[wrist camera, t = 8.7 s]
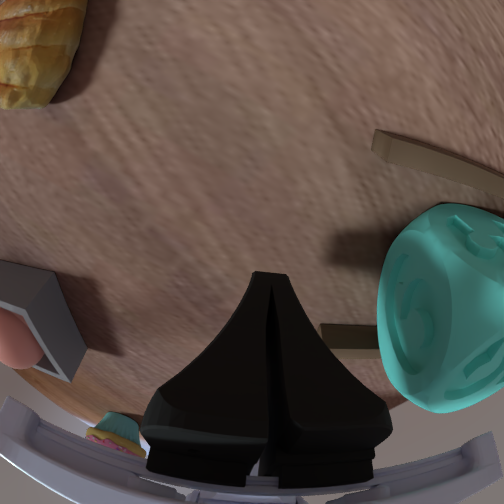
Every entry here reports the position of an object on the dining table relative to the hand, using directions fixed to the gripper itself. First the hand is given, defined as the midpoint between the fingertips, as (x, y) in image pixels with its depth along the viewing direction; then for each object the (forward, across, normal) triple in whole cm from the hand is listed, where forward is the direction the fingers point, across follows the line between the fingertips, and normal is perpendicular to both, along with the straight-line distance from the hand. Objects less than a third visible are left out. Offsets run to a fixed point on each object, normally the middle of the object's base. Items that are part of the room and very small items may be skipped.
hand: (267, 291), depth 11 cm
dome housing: (+4, +19, +8) cm, 21 cm away
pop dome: (+3, +19, +8) cm, 21 cm away
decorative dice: (+4, -10, 0) cm, 11 cm away
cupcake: (+4, +16, +30) cm, 35 cm away
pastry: (+4, +13, -12) cm, 18 cm away
